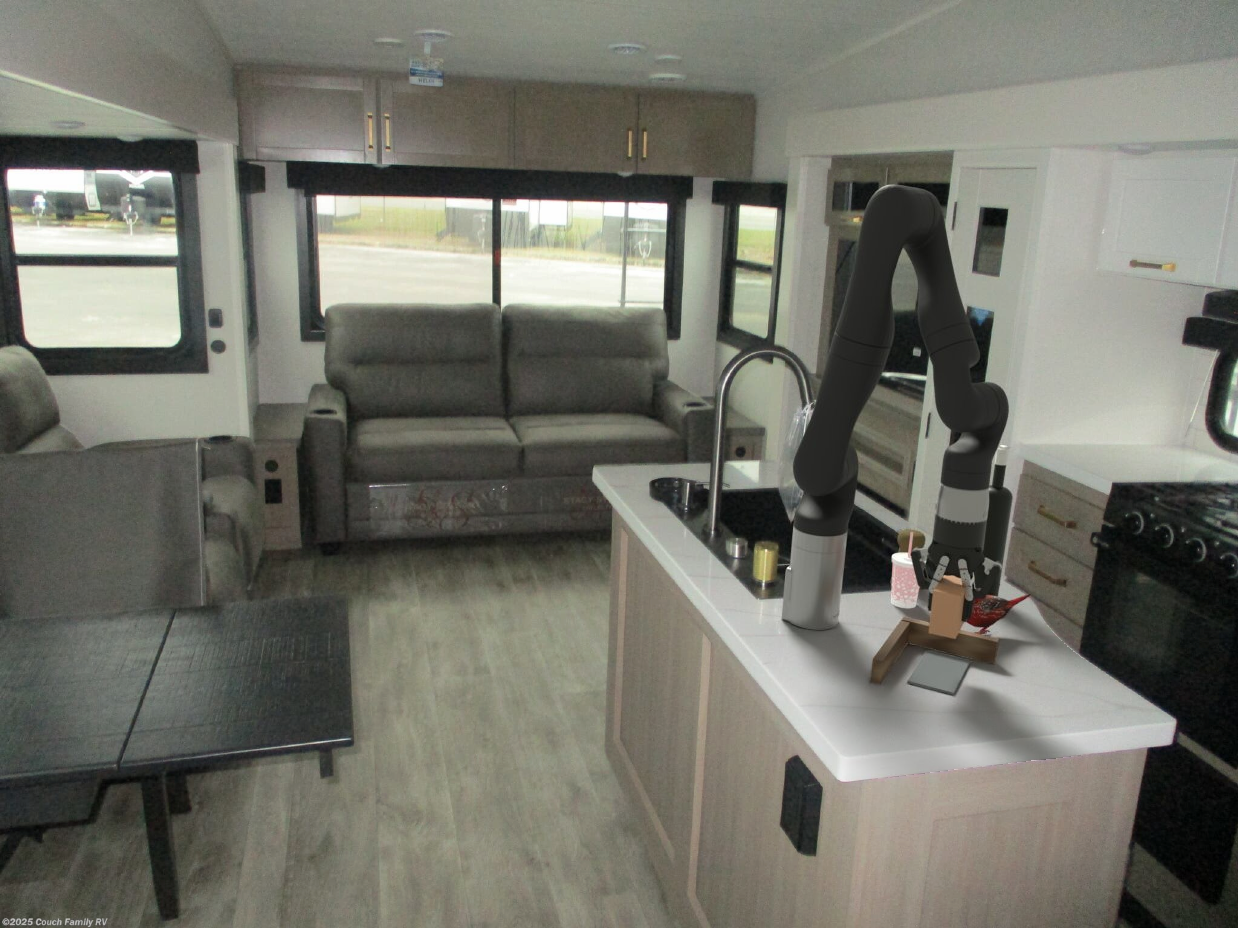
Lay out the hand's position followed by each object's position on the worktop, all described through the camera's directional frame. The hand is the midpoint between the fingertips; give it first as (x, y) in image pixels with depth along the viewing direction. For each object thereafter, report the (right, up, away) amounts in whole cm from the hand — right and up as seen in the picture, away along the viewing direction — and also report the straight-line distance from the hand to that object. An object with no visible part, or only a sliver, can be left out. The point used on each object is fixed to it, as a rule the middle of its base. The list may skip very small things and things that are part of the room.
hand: (949, 616), depth 154 cm
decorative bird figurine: (+13, -6, +17) cm, 22 cm away
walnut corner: (-1, -9, +2) cm, 10 cm away
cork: (+4, 0, +39) cm, 39 cm away
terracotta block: (0, -1, 0) cm, 1 cm away
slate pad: (-1, -9, +2) cm, 10 cm away
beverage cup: (+1, -2, +29) cm, 29 cm away
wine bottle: (+17, -2, +33) cm, 37 cm away
